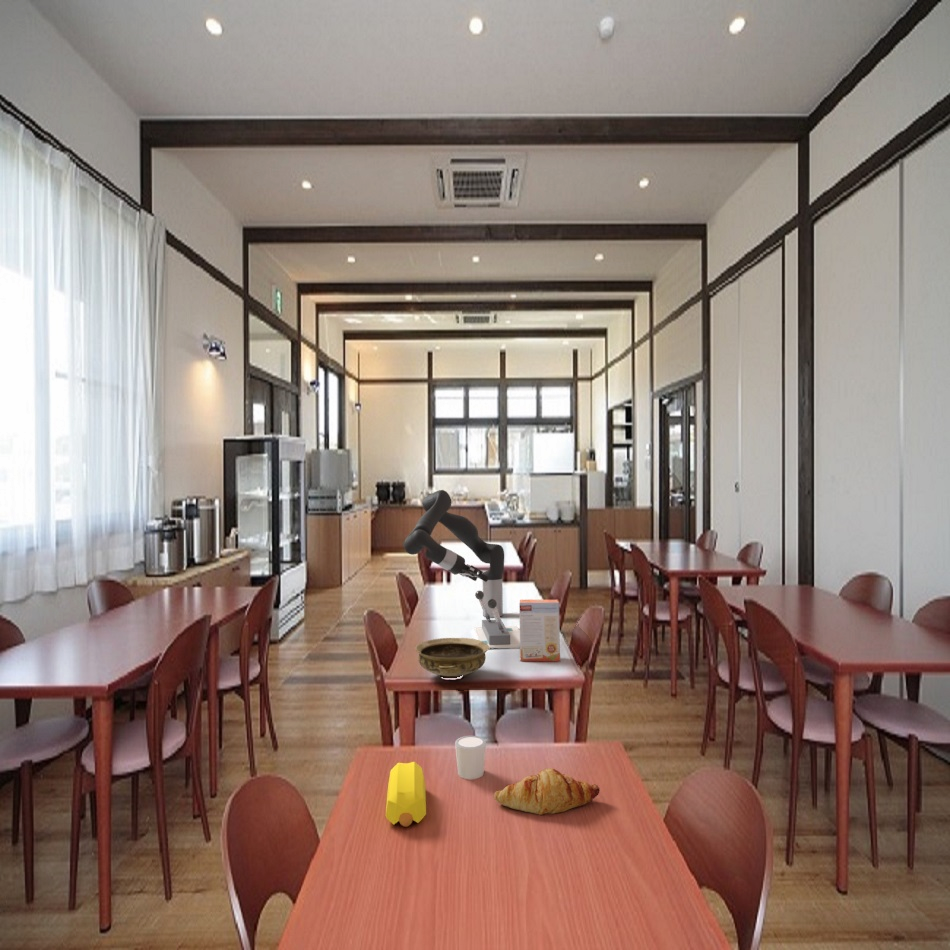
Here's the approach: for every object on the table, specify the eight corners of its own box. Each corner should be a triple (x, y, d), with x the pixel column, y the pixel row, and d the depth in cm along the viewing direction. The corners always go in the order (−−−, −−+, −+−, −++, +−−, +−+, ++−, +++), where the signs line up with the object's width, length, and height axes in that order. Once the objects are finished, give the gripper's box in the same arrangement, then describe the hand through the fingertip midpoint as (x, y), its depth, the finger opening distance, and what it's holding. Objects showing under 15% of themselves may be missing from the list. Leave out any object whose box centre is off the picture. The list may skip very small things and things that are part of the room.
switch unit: (474, 629, 265) (474, 619, 265) (516, 628, 267) (516, 617, 267) (482, 649, 235) (482, 637, 235) (529, 647, 237) (529, 635, 237)
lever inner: (484, 621, 262) (473, 591, 261) (492, 618, 262) (481, 588, 261) (485, 623, 258) (474, 593, 257) (494, 620, 258) (482, 590, 258)
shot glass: (462, 783, 134) (462, 750, 134) (450, 769, 140) (450, 738, 140) (491, 776, 137) (491, 744, 137) (478, 763, 143) (478, 733, 143)
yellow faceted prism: (425, 783, 135) (388, 785, 134) (424, 752, 135) (388, 754, 134) (426, 831, 117) (384, 834, 116) (426, 795, 117) (384, 797, 116)
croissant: (496, 831, 122) (497, 805, 119) (491, 784, 131) (491, 758, 127) (603, 823, 124) (607, 797, 120) (591, 777, 133) (594, 752, 129)
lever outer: (497, 632, 244) (485, 600, 243) (506, 628, 244) (494, 596, 244) (499, 634, 240) (486, 602, 240) (507, 631, 241) (495, 598, 240)
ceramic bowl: (484, 694, 188) (483, 661, 188) (405, 691, 191) (405, 659, 191) (493, 663, 218) (493, 635, 218) (425, 662, 221) (425, 633, 221)
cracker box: (559, 657, 225) (558, 598, 225) (560, 662, 219) (559, 602, 219) (520, 656, 226) (519, 598, 226) (520, 661, 220) (519, 602, 220)
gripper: (463, 552, 241) (494, 571, 248) (445, 552, 253) (476, 570, 260) (455, 570, 239) (487, 588, 245) (438, 569, 251) (469, 586, 257)
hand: (481, 579), depth 252 cm, fingers open, 8 cm apart
